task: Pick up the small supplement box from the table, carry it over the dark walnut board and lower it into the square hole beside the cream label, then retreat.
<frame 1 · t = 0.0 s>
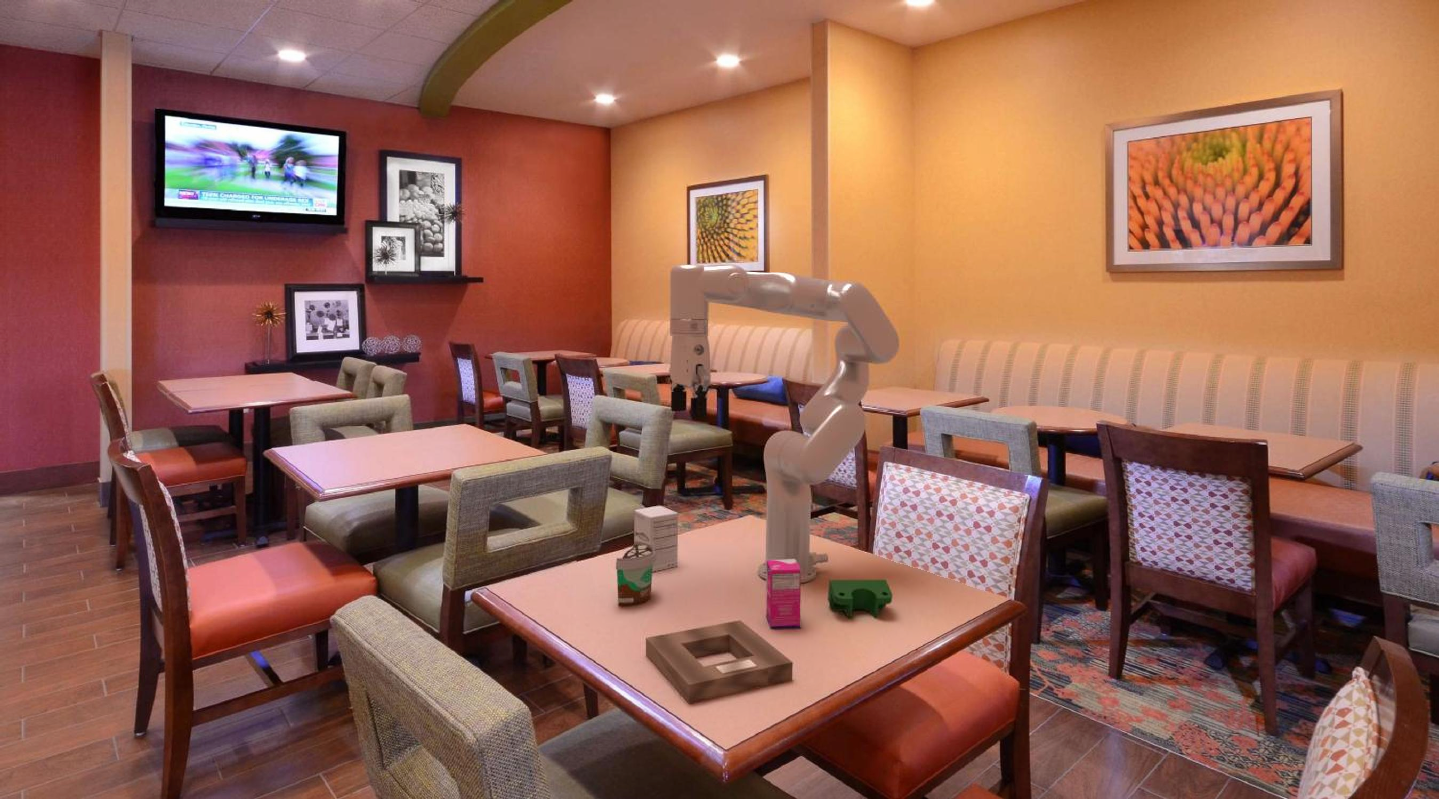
hand: (688, 414, 161), 37 cm above the table, tool pointing down, fingers open, 9 cm apart
hole board: (716, 666, 133), on the table
supplement box: (782, 623, 151), on the table
clamp: (859, 614, 156), on the table
food container: (640, 599, 162), on the table
supplement box 2: (655, 566, 182), on the table
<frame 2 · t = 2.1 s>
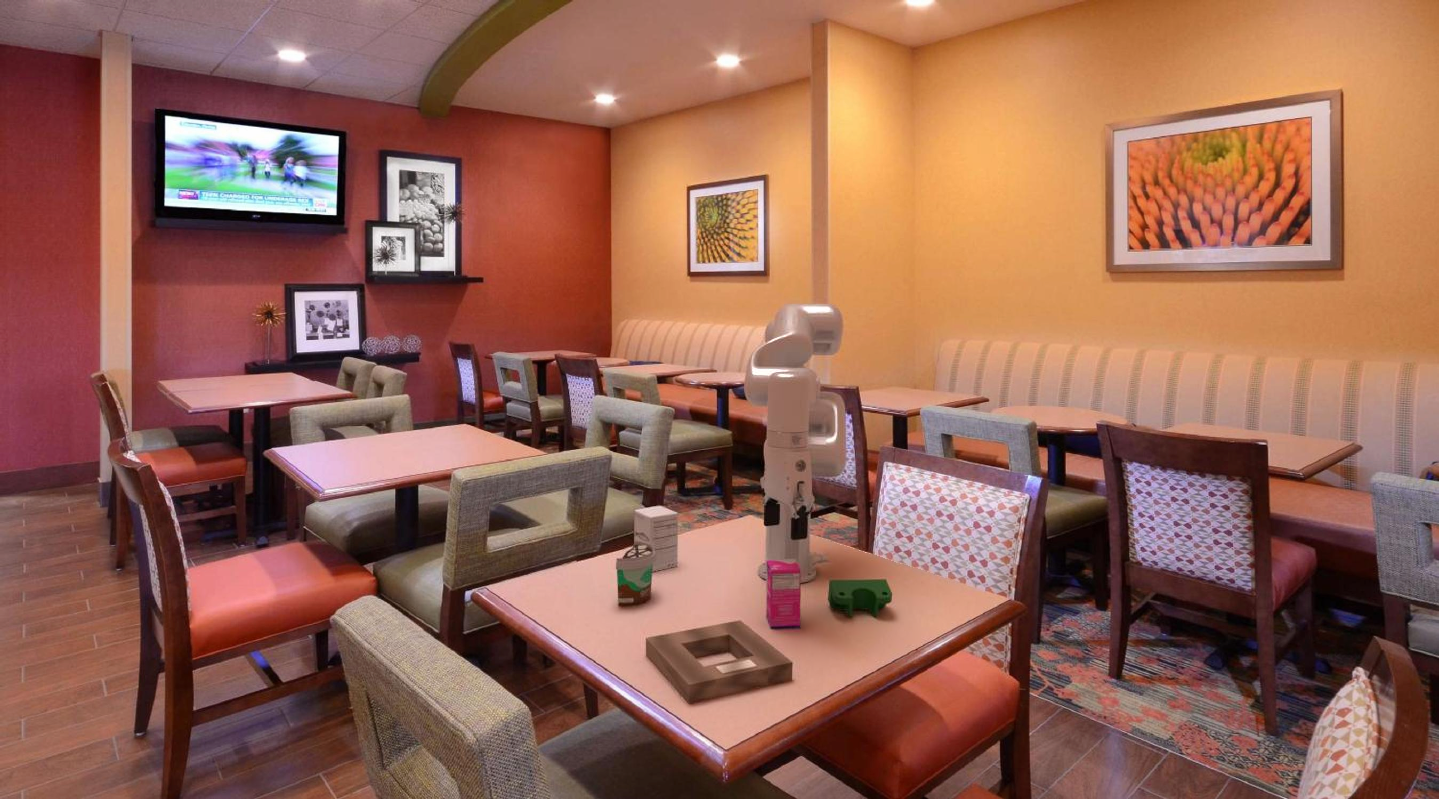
hand: (784, 532, 148), 18 cm above the table, tool pointing down, fingers open, 9 cm apart
nothing on the table moved.
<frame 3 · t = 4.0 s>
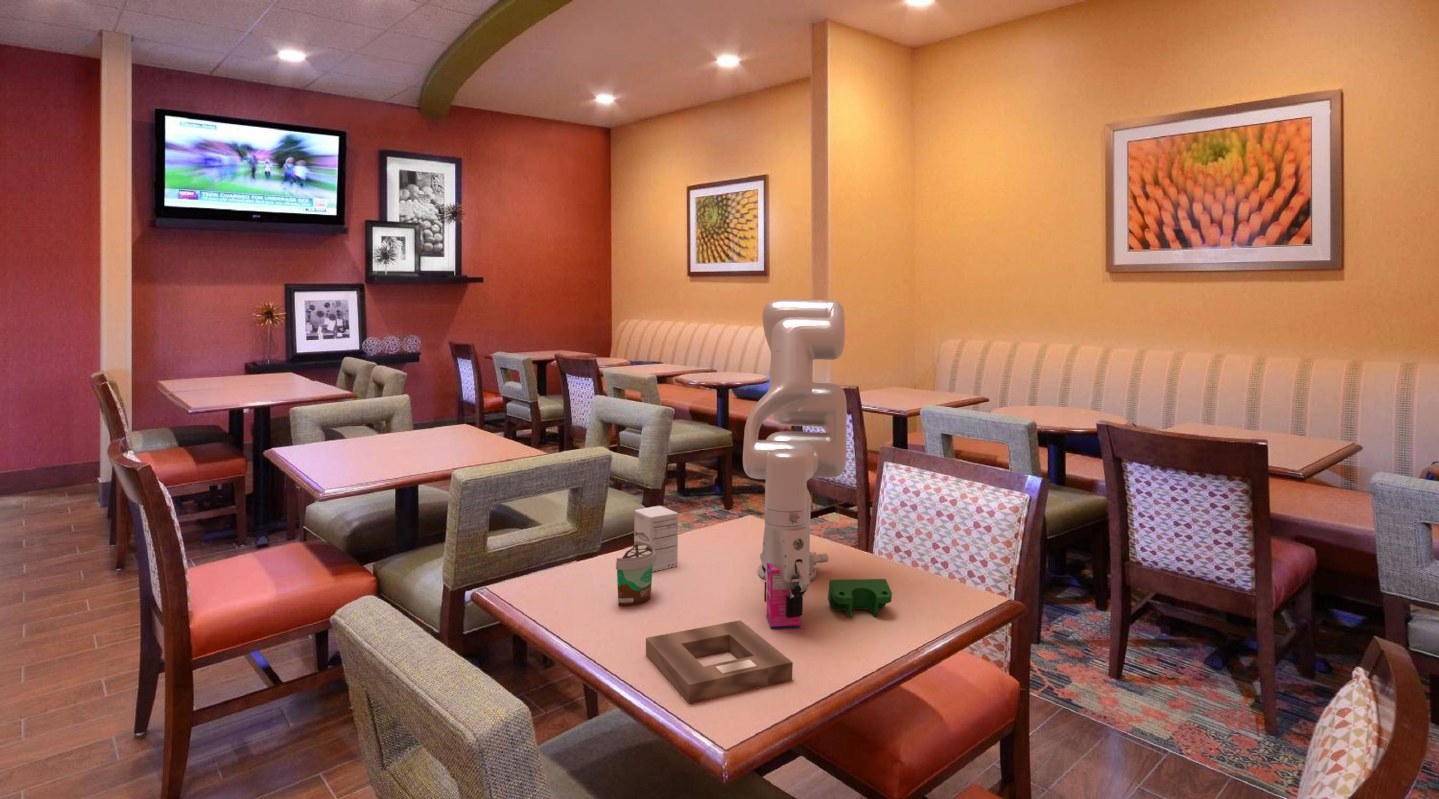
hand: (782, 608, 151), 3 cm above the table, tool pointing down, fingers closed on supplement box, 7 cm apart
supplement box: (782, 623, 151), on the table, touching gripper
everything else where it was.
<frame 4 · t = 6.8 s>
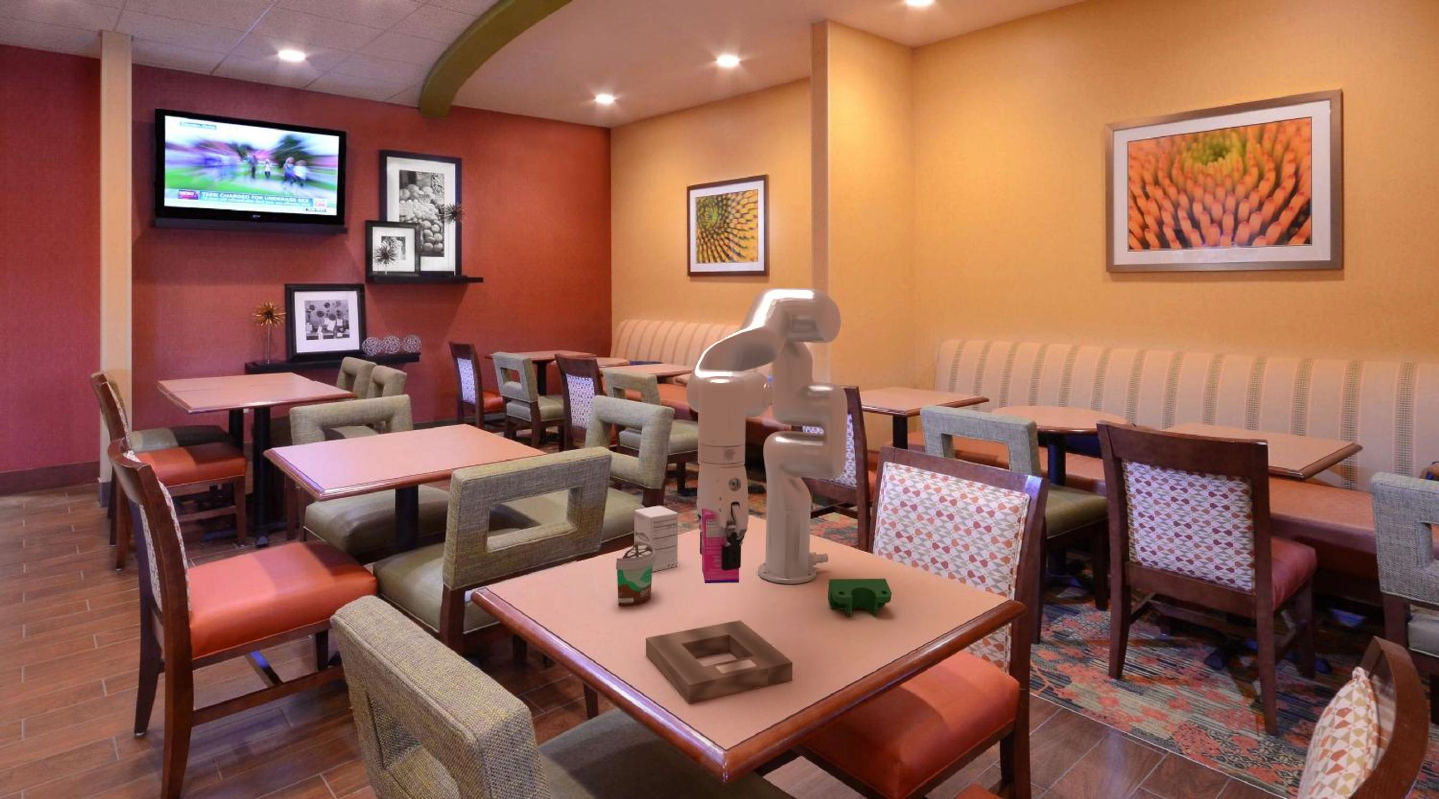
hand: (719, 560, 131), 18 cm above the table, tool pointing down, fingers closed on supplement box, 7 cm apart
supplement box: (719, 578, 132), point 15 cm above the table, touching gripper
everything else where it was.
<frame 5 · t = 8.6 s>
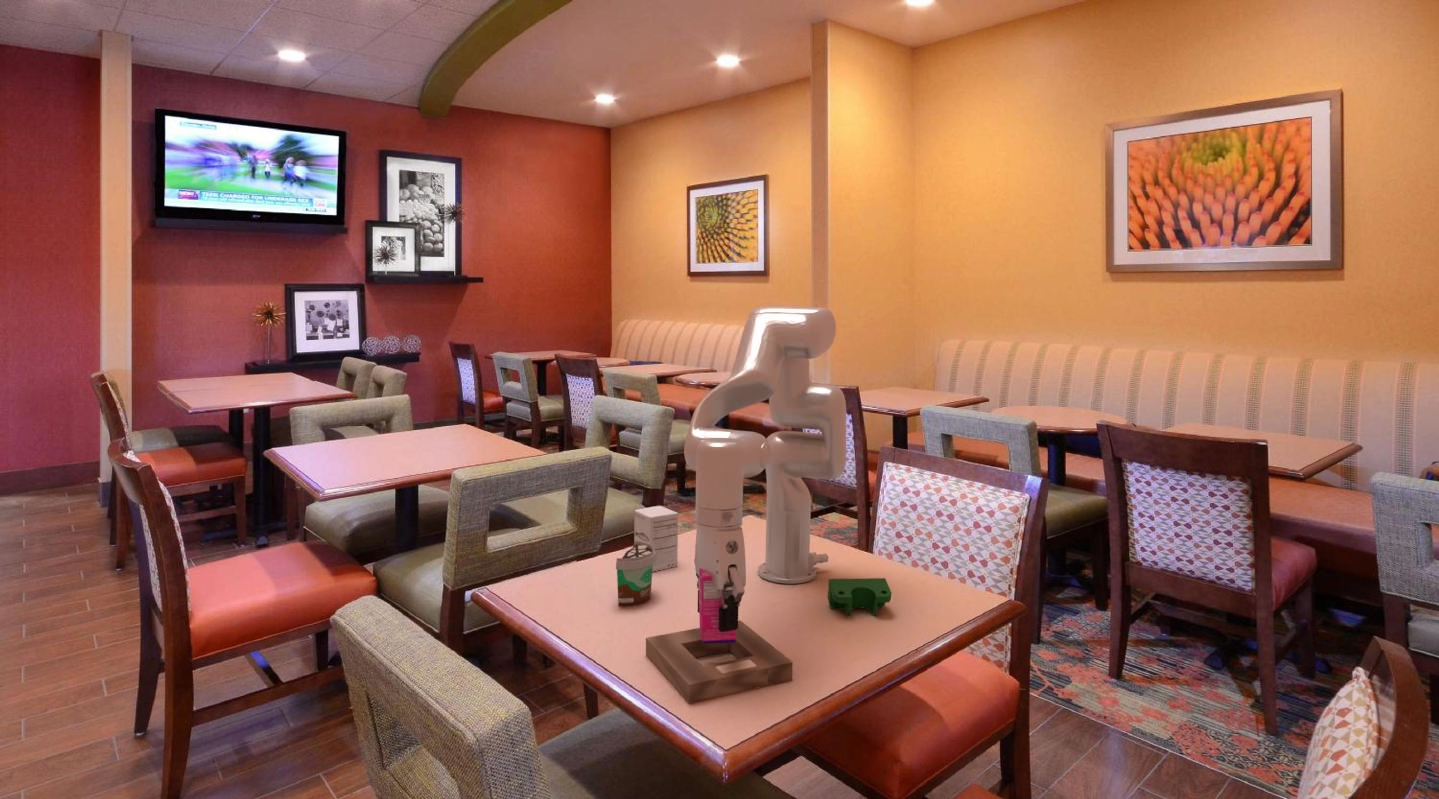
hand: (717, 620, 132), 8 cm above the table, tool pointing down, fingers closed on supplement box, 7 cm apart
supplement box: (717, 637, 132), point 5 cm above the table, touching gripper
everything else where it was.
when the fingers open (5 cm above the table, at t = 9.9 s): supplement box drops 2 cm, on the table.
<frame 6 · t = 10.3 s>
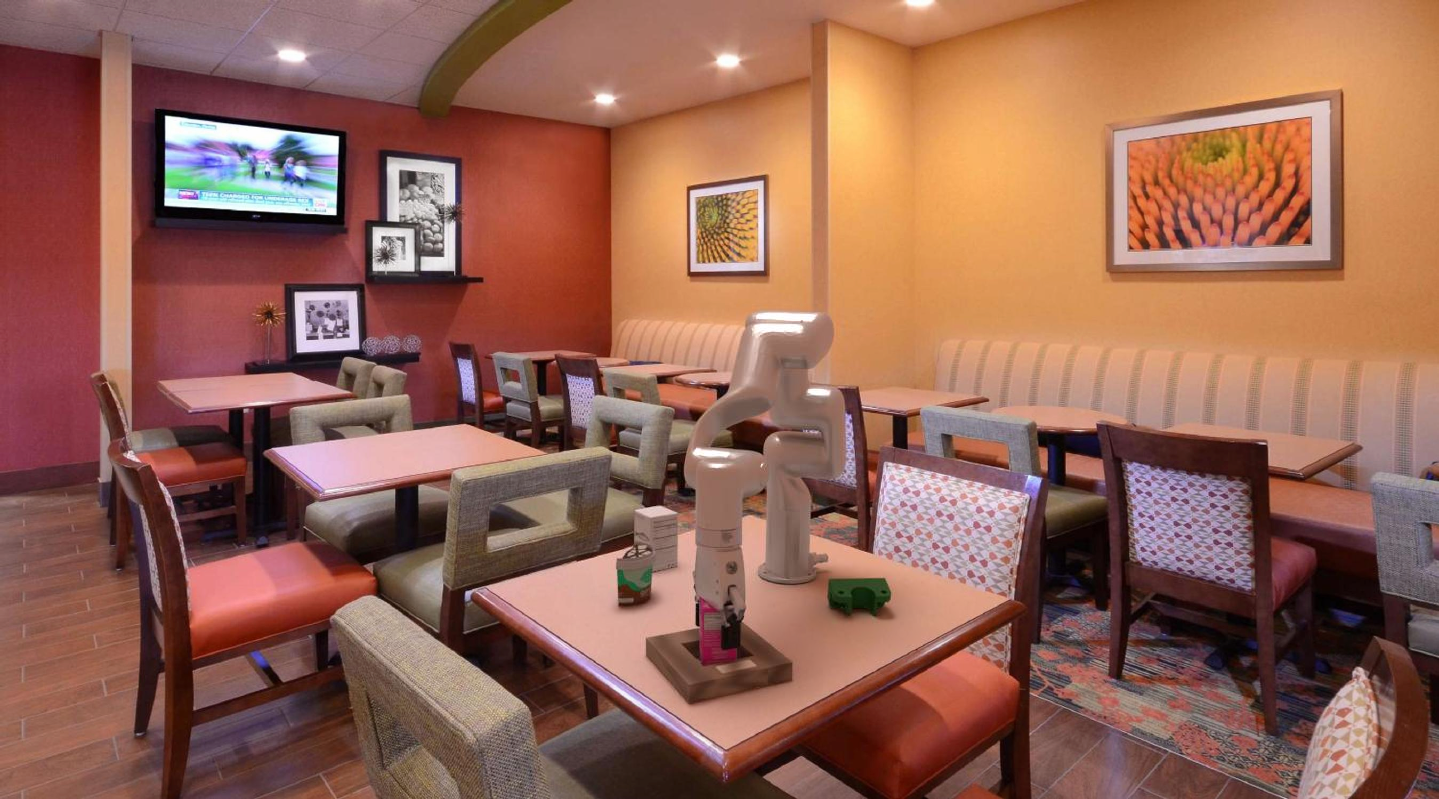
hand: (717, 636, 132), 5 cm above the table, tool pointing down, fingers open, 9 cm apart
supplement box: (717, 667, 133), on the table
everything else where it was.
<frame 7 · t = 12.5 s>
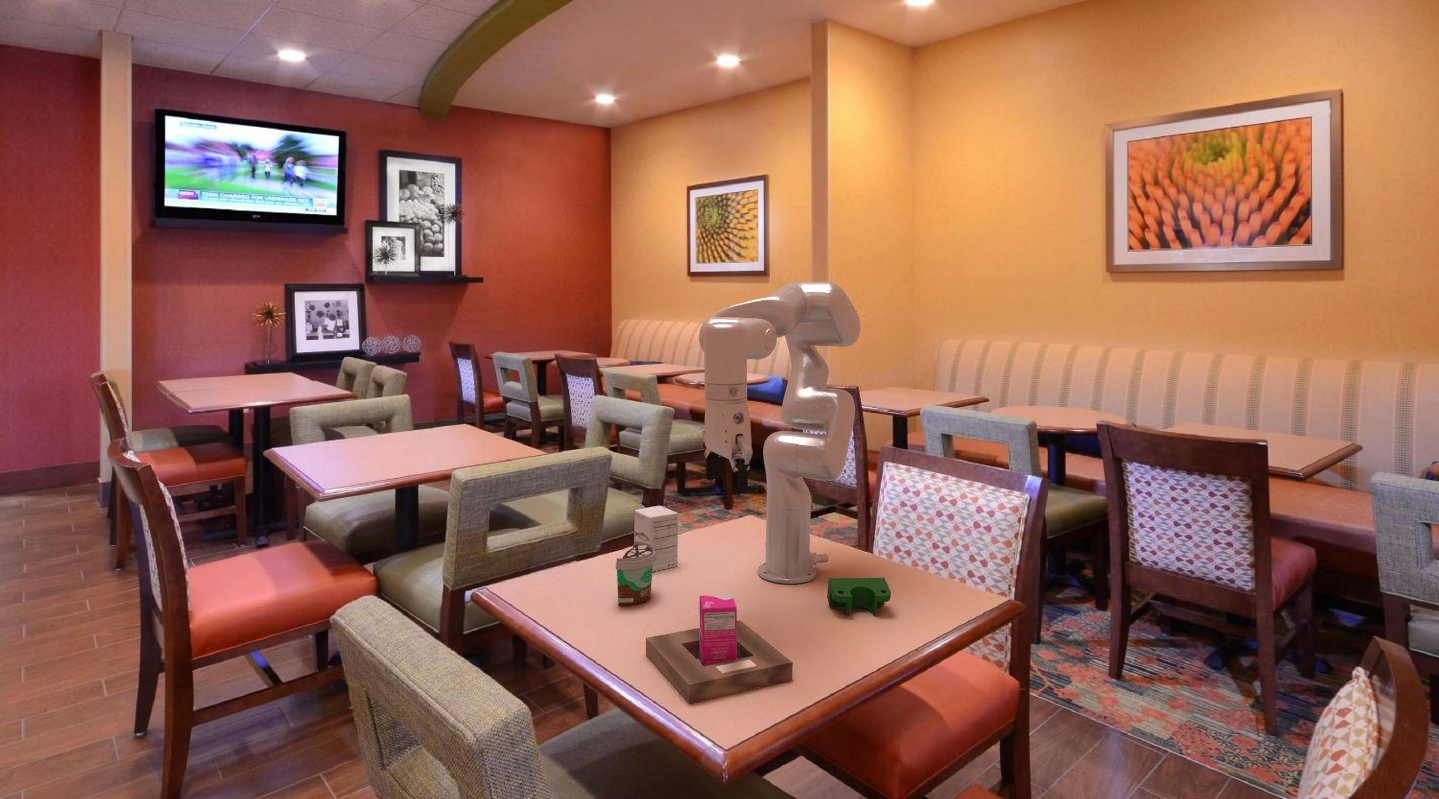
hand: (726, 485, 146), 26 cm above the table, tool pointing down, fingers open, 9 cm apart
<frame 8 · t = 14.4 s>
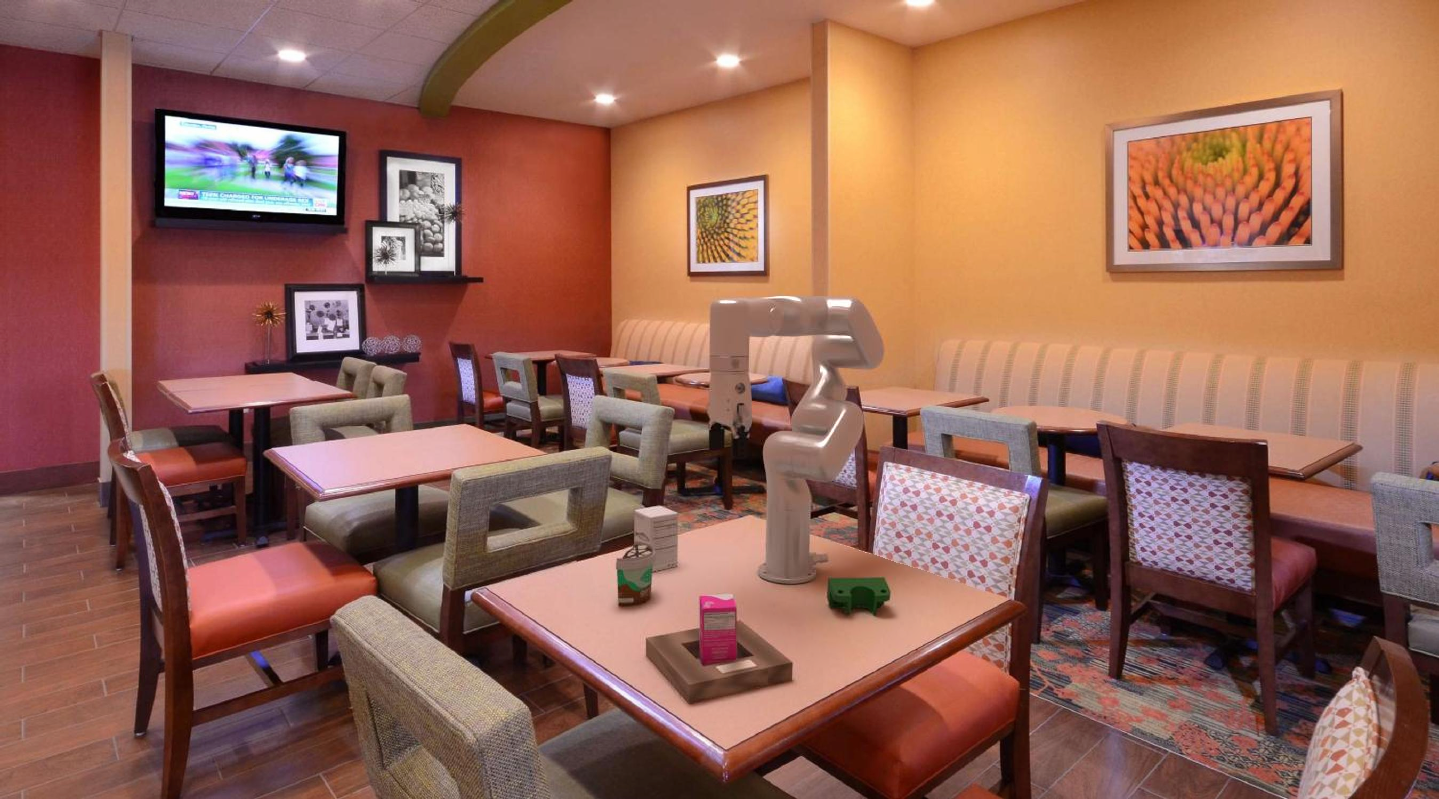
hand: (727, 453, 155), 30 cm above the table, tool pointing down, fingers open, 9 cm apart
at the end: supplement box 0.2 cm off-centre on the hole board, point 0.0 cm above the hole board's base; supplement box tilted 0°; the gripper is holding nothing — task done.
